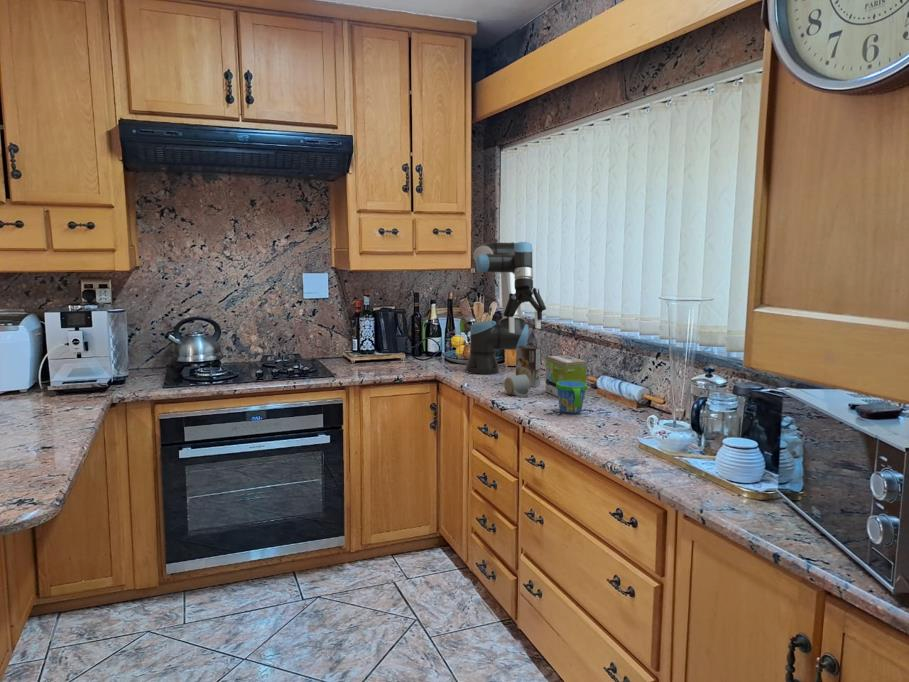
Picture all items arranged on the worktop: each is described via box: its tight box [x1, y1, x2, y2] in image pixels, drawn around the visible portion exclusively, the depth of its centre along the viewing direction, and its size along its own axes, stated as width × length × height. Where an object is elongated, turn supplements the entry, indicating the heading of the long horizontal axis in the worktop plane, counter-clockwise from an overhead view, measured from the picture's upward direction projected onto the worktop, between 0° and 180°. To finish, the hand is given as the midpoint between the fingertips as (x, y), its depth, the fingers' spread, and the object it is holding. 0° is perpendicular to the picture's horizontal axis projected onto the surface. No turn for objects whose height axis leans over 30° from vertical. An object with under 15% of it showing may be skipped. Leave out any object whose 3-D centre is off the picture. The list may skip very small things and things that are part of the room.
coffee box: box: [515, 345, 542, 388], centre depth 278 cm, size 9×6×16 cm
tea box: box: [545, 354, 588, 399], centre depth 259 cm, size 15×10×15 cm, turn 20°
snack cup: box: [556, 381, 588, 415], centre depth 232 cm, size 16×10×10 cm
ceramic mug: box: [503, 374, 531, 398], centre depth 259 cm, size 11×8×8 cm
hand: (524, 330), depth 269 cm, fingers open, 13 cm apart
